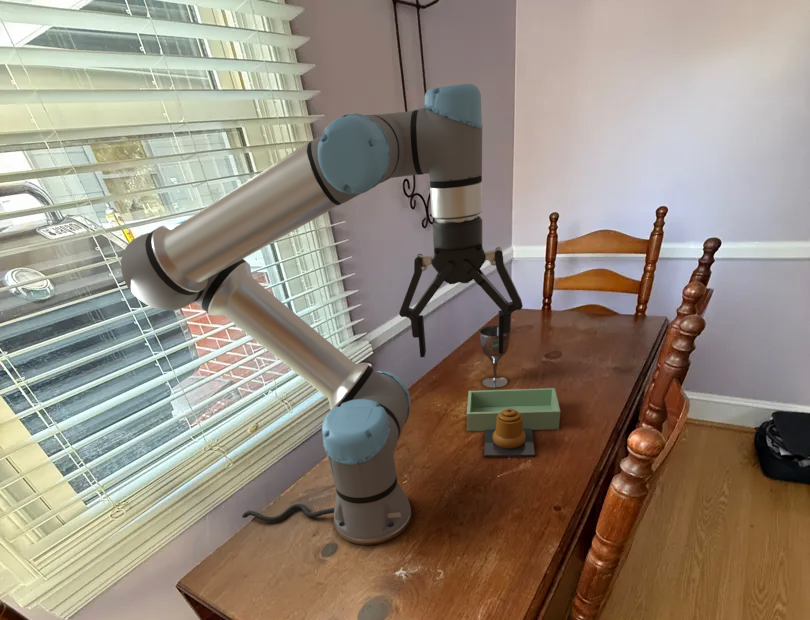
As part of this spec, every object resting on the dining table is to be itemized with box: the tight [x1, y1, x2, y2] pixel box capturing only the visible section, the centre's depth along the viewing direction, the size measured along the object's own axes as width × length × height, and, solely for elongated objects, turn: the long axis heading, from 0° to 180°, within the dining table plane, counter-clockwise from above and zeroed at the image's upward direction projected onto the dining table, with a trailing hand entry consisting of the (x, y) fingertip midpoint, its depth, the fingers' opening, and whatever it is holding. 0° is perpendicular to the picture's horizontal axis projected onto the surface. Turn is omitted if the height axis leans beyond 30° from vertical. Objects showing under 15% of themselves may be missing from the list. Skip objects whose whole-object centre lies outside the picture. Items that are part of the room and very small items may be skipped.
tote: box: [466, 387, 561, 432], centre depth 118 cm, size 22×12×5 cm, turn 82°
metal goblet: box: [479, 325, 511, 389], centre depth 132 cm, size 8×8×15 cm
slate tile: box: [483, 429, 536, 458], centre depth 110 cm, size 11×11×1 cm
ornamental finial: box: [493, 408, 526, 449], centre depth 107 cm, size 8×8×8 cm
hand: (461, 352), depth 84 cm, fingers open, 13 cm apart
